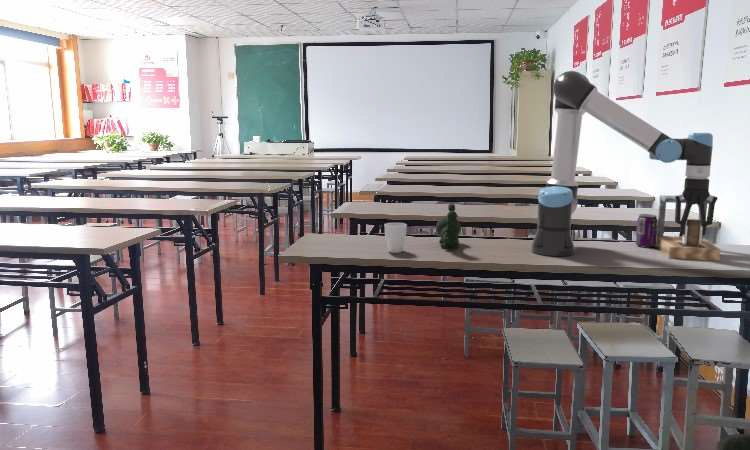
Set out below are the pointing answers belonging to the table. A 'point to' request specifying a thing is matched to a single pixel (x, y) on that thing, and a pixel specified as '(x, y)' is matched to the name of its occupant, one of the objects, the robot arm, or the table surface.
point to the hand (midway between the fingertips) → (691, 243)
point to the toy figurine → (449, 229)
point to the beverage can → (646, 230)
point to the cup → (395, 236)
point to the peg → (692, 232)
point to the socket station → (674, 244)
